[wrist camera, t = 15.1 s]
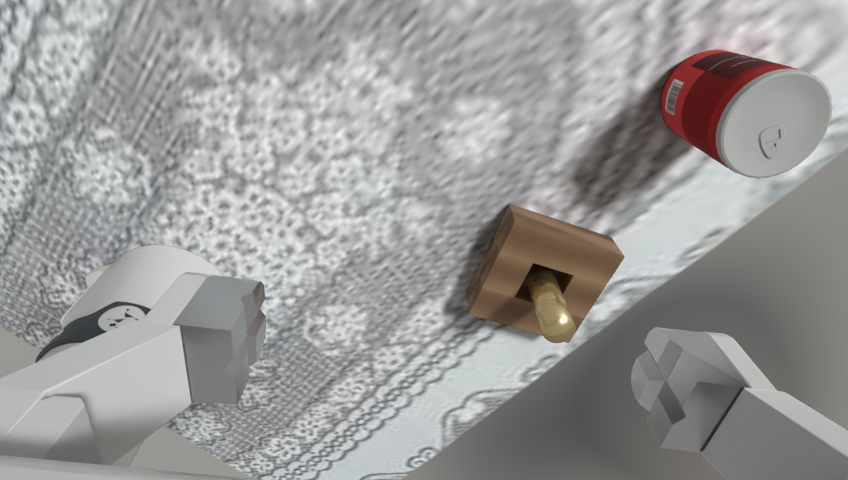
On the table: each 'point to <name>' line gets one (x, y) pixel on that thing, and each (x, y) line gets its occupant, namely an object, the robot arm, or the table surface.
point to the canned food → (746, 111)
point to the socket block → (548, 246)
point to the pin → (550, 304)
